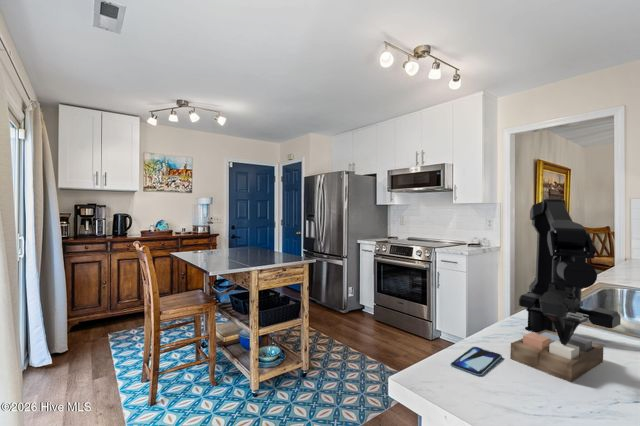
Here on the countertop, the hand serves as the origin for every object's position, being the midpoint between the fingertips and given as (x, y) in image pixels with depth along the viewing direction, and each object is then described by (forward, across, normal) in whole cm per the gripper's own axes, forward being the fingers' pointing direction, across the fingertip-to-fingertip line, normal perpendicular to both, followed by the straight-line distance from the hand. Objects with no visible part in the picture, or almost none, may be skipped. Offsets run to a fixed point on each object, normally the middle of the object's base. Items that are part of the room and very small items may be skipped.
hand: (564, 344), depth 77 cm
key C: (+5, -6, +8) cm, 11 cm away
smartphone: (+7, -13, -14) cm, 21 cm away
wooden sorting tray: (+6, -3, +4) cm, 8 cm away
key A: (+3, 0, 0) cm, 3 cm away
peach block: (+3, -6, 0) cm, 7 cm away
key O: (+3, 0, +8) cm, 9 cm away
